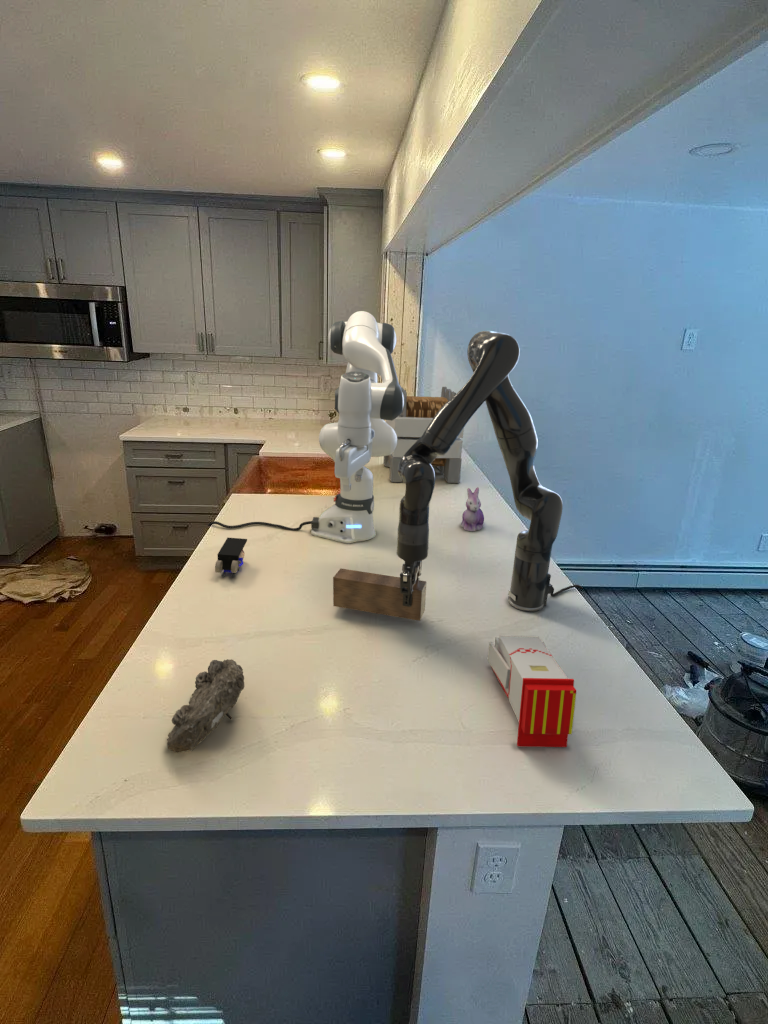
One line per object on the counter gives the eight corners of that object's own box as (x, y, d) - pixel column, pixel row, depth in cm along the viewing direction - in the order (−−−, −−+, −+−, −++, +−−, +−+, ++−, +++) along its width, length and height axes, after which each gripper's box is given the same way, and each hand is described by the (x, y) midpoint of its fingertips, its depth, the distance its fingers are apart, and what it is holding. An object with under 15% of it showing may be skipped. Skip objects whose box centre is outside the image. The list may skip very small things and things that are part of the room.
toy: (536, 619, 129) (586, 686, 99) (531, 673, 131) (578, 754, 102) (483, 618, 128) (517, 685, 99) (479, 672, 131) (511, 753, 102)
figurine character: (238, 584, 162) (249, 557, 175) (236, 562, 158) (247, 536, 172) (215, 584, 161) (227, 556, 175) (212, 561, 158) (225, 535, 171)
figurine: (470, 533, 202) (474, 493, 197) (453, 524, 211) (457, 485, 206) (491, 530, 207) (495, 491, 202) (474, 520, 215) (478, 483, 210)
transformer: (382, 463, 289) (386, 382, 275) (445, 464, 293) (451, 384, 279) (390, 482, 257) (394, 392, 243) (460, 483, 261) (468, 394, 247)
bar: (333, 606, 146) (333, 577, 143) (340, 596, 151) (340, 568, 148) (420, 620, 140) (421, 591, 137) (424, 610, 145) (426, 581, 142)
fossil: (192, 660, 117) (244, 628, 112) (224, 691, 120) (276, 661, 115) (142, 746, 98) (202, 712, 93) (182, 779, 101) (242, 748, 96)
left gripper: (352, 445, 139) (351, 498, 144) (376, 429, 158) (374, 477, 162) (328, 442, 141) (328, 495, 145) (355, 427, 159) (353, 475, 164)
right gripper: (421, 551, 129) (418, 616, 135) (434, 529, 142) (430, 589, 148) (390, 547, 131) (388, 611, 137) (405, 525, 144) (402, 585, 150)
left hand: (352, 485), depth 154 cm, fingers open, 8 cm apart
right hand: (410, 599), depth 142 cm, fingers closed on bar, 5 cm apart
